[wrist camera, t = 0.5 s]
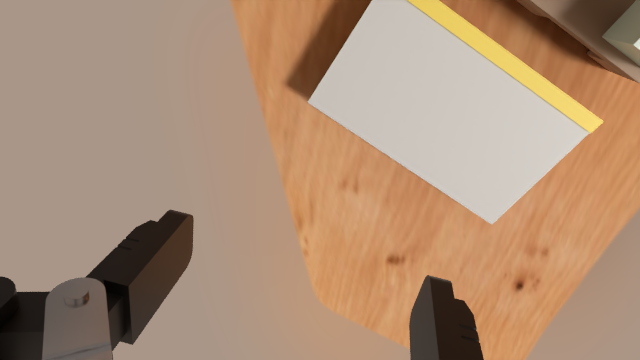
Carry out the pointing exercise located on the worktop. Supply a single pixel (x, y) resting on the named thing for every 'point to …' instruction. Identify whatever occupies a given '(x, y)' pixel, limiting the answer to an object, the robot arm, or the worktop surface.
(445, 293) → the robot arm
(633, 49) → the block
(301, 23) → the worktop surface
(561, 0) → the pallet
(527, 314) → the worktop surface
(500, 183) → the block
